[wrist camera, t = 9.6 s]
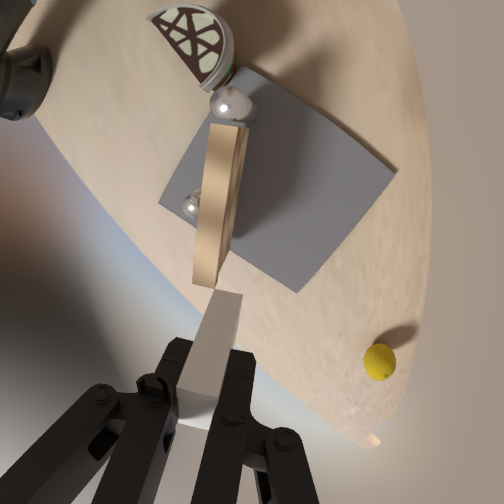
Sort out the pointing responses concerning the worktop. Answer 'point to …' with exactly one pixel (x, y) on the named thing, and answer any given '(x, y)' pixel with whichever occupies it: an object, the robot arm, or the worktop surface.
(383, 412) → the worktop surface
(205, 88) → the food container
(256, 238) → the mat
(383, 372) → the lemon
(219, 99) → the posts
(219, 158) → the light wood flat slab
